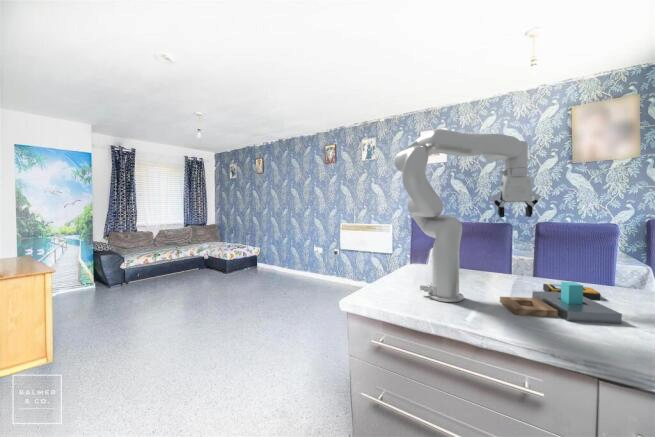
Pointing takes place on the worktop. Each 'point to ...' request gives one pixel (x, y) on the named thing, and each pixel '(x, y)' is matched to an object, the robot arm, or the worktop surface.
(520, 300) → the wooden square tray
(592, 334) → the worktop surface
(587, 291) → the electronic device
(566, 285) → the plug
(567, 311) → the panel
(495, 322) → the worktop surface
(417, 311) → the worktop surface
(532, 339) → the worktop surface
